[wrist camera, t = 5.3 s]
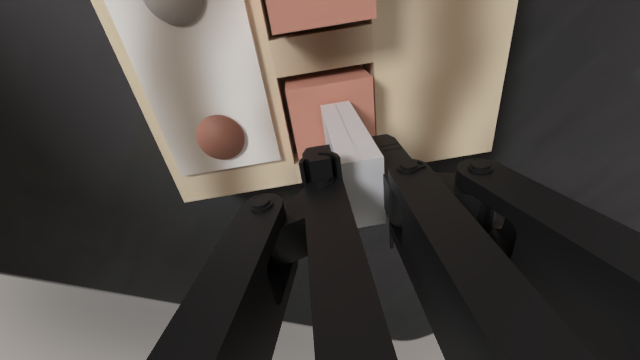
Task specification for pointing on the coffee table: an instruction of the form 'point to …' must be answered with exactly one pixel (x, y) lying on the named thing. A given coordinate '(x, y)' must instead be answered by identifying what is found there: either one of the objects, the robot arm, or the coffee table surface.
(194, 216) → the coffee table surface
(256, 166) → the board
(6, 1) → the coffee table surface
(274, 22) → the button
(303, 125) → the button
